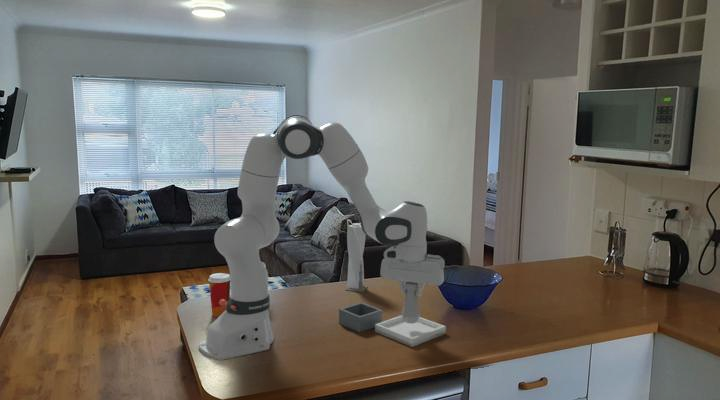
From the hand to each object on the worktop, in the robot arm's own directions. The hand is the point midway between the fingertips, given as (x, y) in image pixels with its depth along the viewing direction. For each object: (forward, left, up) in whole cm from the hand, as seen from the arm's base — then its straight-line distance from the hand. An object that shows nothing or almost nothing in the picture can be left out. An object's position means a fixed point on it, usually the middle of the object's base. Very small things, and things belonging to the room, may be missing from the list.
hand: (411, 295), depth 175 cm
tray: (0, 0, -13) cm, 13 cm away
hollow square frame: (-7, +16, -13) cm, 22 cm away
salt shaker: (0, 0, -9) cm, 9 cm away
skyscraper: (+18, +46, -13) cm, 51 cm away
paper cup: (-38, +54, -13) cm, 67 cm away
